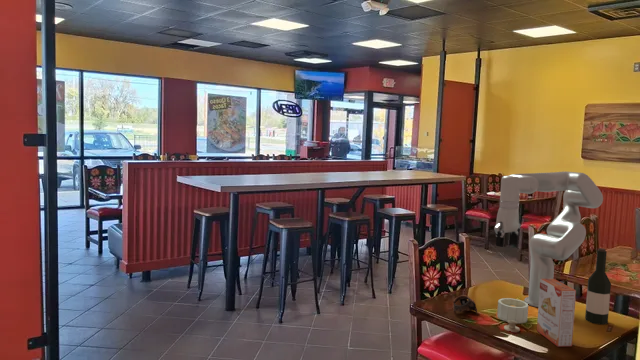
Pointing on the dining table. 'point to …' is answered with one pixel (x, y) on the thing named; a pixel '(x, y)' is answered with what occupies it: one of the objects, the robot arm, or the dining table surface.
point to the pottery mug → (464, 304)
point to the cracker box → (556, 312)
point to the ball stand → (512, 326)
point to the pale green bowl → (512, 310)
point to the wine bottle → (598, 292)
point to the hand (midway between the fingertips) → (506, 245)
